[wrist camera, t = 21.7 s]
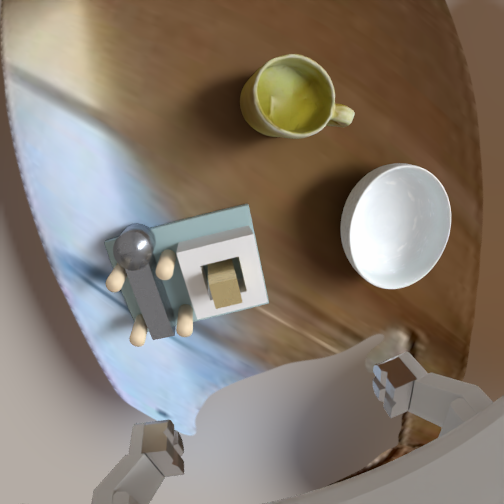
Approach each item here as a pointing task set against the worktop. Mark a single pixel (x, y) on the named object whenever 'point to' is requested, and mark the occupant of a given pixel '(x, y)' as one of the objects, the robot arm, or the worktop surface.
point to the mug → (292, 99)
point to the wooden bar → (223, 284)
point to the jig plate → (171, 242)
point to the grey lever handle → (145, 279)
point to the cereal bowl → (395, 225)
